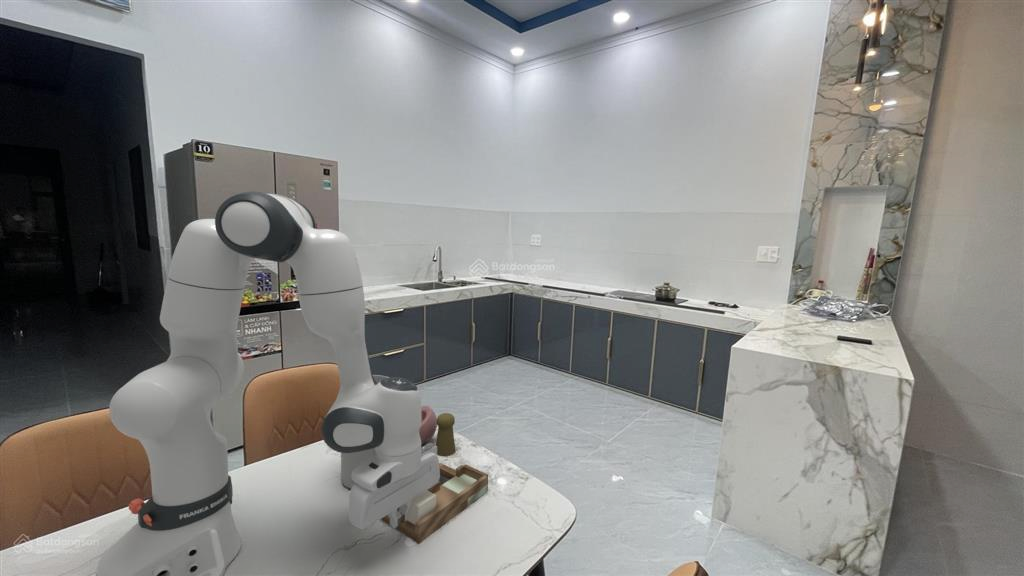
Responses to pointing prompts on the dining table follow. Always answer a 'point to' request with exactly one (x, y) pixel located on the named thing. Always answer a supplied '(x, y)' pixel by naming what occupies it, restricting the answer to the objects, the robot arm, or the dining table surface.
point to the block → (421, 506)
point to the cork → (445, 435)
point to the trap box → (447, 500)
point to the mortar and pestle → (427, 424)
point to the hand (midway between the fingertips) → (398, 523)
